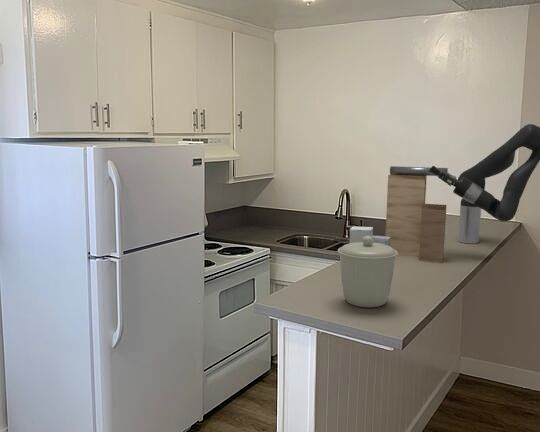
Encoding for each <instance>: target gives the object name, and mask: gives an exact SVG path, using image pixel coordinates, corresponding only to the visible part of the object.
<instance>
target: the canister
mask: <svg viewBox="0 0 540 432" xmlns="http://www.w3.org/2000/svg"><path fill="white" fill-rule="evenodd" d="M373 242H374V239H373V237H371V236H364V237H363V238H362V242H356V243H350V242H349V243H346V244H344V245H342V246H341V247H339V248H338V249H337V252H338V253H337V254H339V258H340V259H339V262H340V271H341V273H340V275H341V283H342V293H343V297H344V299H345V301H346V302H347V303H349V304H350V305H352V306H355V307H360V308H379V307H382V306H383V305H385V304H386V303H387V302H388V300H389V296H390V293H391V287H392V282H393V281H392V280H393V275H394V267H395V263H396V262H395V261H396V257H397V256H398V252H397V251H396V250H394V249H393V248H392V247H390V246H388V245H385V244H380V243H373Z"/></svg>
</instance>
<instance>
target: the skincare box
mask: <svg viewBox="0 0 540 432" xmlns="http://www.w3.org/2000/svg"><path fill="white" fill-rule="evenodd" d="M364 236H371V237H373V236H374V227H373V226H352V227H351V228H350V229H349V243H356V242H362V238H363V237H364Z"/></svg>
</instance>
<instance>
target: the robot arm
mask: <svg viewBox="0 0 540 432" xmlns="http://www.w3.org/2000/svg"><path fill="white" fill-rule="evenodd" d="M519 148H526V149H528V150H530V151H531V153H530V155H529V157H528V158H527V160H526V161H525V162H524V163H522V164H521V165H520V166H519V167H517V168H516V169H514V171H513V172H512V173H510V175H509V177H508V179H507V181H506V184H505V186H504V189H503V192H502V197H501V199H500V200H499V199H497V198H496V197H495V196H494V195H493V194H492V193H491V192H488V191H487V190H486V179H487V178H488V179H489V178H490V177H494V176H496V175H499V174H501V173H503V172H504V171H506V170H508V169H509V168H510V167H511V166H513V164H514V163H515V162H514V161H515V158H516V157H515V155H516V151H517V150H518V149H519ZM539 163H540V126H538V125H536V124H531V123H528V124H525V125H523V126H522V127H521V128H520V129H519V130H518V131H517V132H516V133H515V134H513V136H511V137H510V138H509V139H508V140H507V141H505V142H504V143H503V144H502V145H500V146H499V147H498V148H497V149H495V150H494V151H492V152H491V153H490V154H488V155H487V156H486V157H484V158H483V159H482V160H480V161H479V162H477V164H475V165H473V166H472V167H469V168H468V169H466V170H463V172H461V173H460V174H459V176H458V178H457V176H456V175H452V174H451V173H449V172H448V174H447V173H443V172H442V171H439V170H438V169H436V168H438V167H436V166H435V165H432V166H431V167H430V168H431V169H430V172H432V173H433V174H435V175H437V176H436V177H437V178H438V179H440V180H441V181H442V182H444V183H445V184H447V185H448V186H450V187H451V186H453V187H454V189H453V192H452V193H453V194H455V195H456V196H458V197H460V198H461V199H460V205H459V207H460V208H459V210H460V211H459V224H458V225H459V227H458V241H457V242H458V243H459V242H460V243H464V244H479V243H480V233H481V231H480V230H481V219H482V218H481V217H482V210H483V211H485V212H486V213H487V214H489V215H490V216H491V217H493V218H494V219H495V220H498V221H500V222H509V221H512V220H513V219H514V218H515V216H516V213H517V211H518V207H519V203H520V200H521V198H522V196H523V193H524V191H525V189H526V187H527V184H528V182H529V181H530V180H529V179H530V177H531V175H532V174H533V172H534V171H535V170H536V168H537V166H538V165H539ZM443 175H444V176H443Z"/></svg>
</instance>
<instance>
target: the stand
mask: <svg viewBox="0 0 540 432" xmlns="http://www.w3.org/2000/svg"><path fill="white" fill-rule="evenodd" d="M386 192H387V195H386V196H387V197H386V213H385V214H386V215H385V216H386V217H385V219H386V220H385V237H390V247H392V248H393V249H394V250H396V251H397V252H398V255H400V256H412V257H419V254H420V235H421V215H422V205H423V204H426V197H427V194H426V193H427V176H423V175H395V174H390V173H389V174H388V175H387V191H386ZM398 255H397V256H398Z"/></svg>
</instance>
